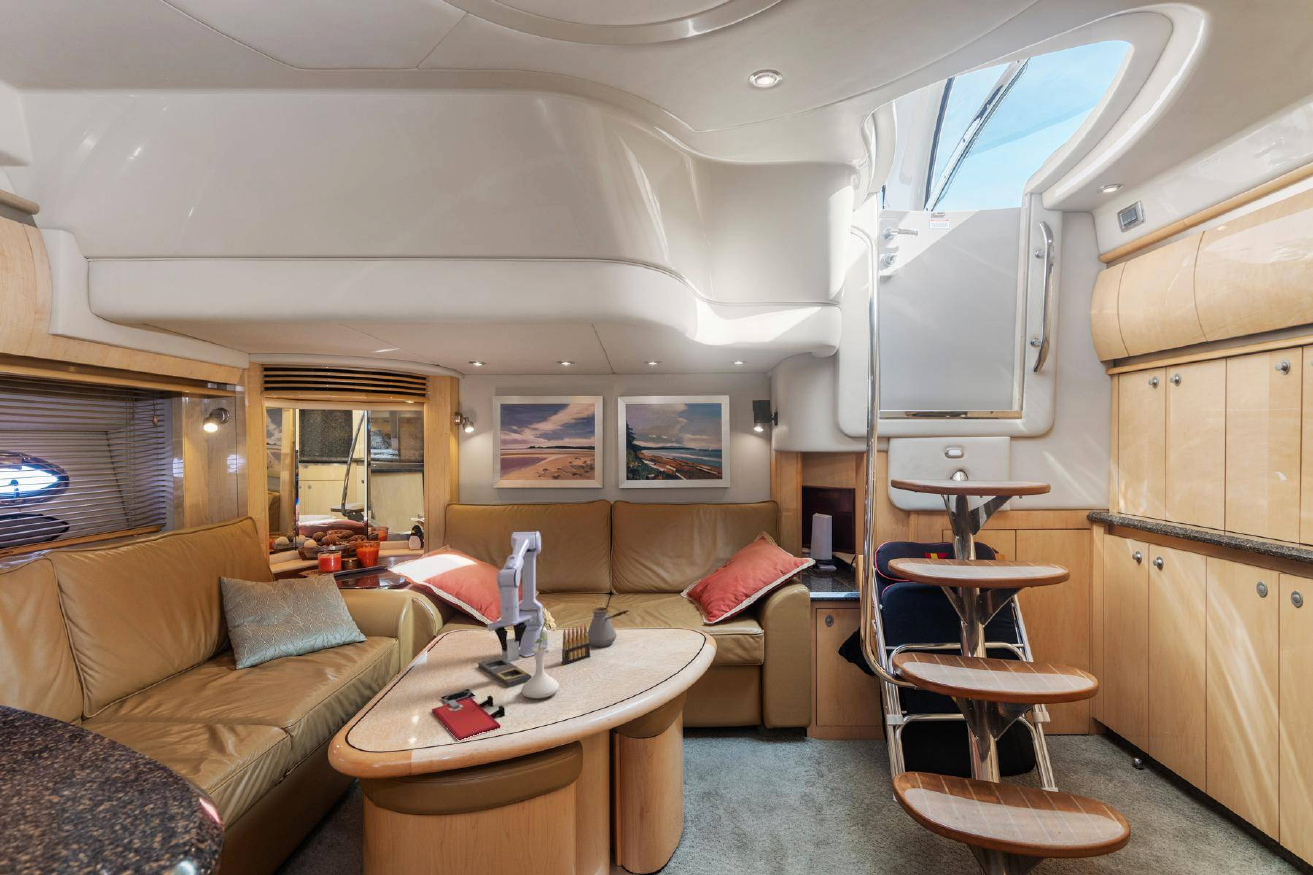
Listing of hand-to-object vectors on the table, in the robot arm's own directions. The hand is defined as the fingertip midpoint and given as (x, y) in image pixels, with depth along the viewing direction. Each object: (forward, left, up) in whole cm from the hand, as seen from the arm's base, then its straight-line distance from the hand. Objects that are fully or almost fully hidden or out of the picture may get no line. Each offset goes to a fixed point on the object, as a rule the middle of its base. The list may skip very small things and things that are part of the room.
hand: (511, 648), depth 194 cm
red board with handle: (+20, +15, -10) cm, 27 cm away
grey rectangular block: (0, 0, -4) cm, 4 cm away
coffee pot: (-41, -4, -10) cm, 42 cm away
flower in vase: (-2, +17, -10) cm, 20 cm away
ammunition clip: (-24, 0, -10) cm, 26 cm away
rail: (0, -6, -10) cm, 11 cm away
